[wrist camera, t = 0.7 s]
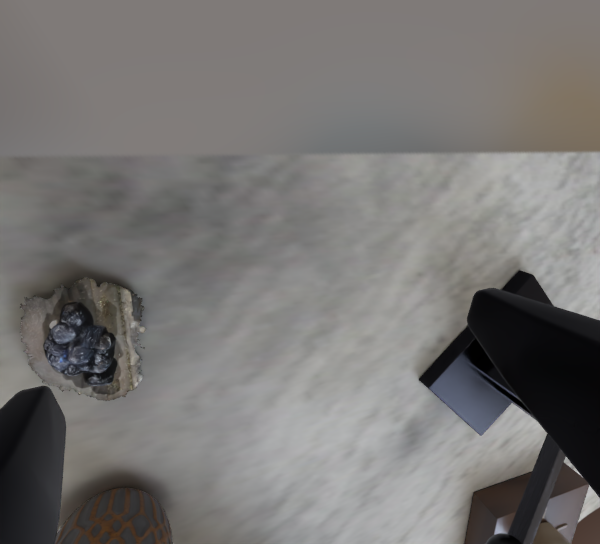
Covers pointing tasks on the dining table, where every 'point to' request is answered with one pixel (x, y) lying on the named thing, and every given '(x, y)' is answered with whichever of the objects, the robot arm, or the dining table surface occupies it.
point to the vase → (117, 520)
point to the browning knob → (549, 535)
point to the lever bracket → (478, 370)
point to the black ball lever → (534, 497)
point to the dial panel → (506, 498)
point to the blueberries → (85, 338)
